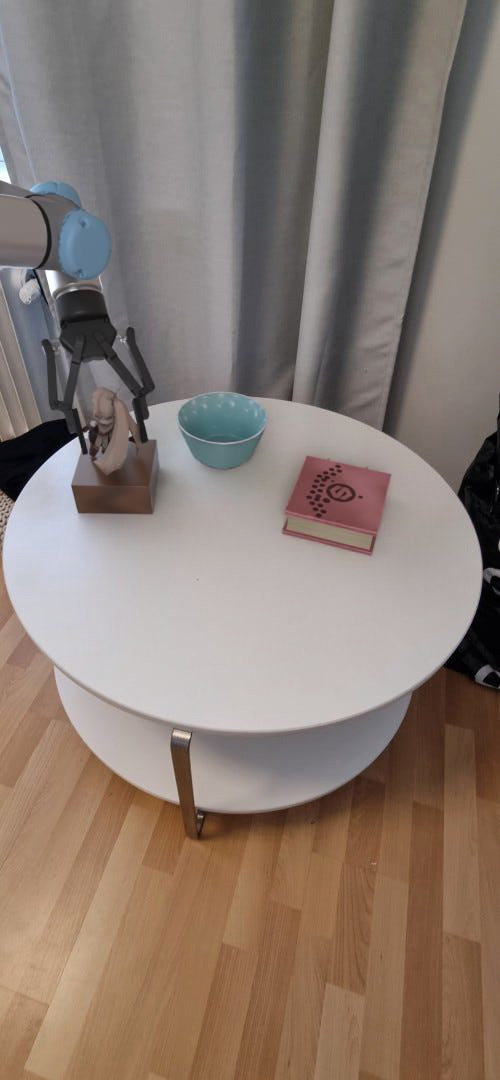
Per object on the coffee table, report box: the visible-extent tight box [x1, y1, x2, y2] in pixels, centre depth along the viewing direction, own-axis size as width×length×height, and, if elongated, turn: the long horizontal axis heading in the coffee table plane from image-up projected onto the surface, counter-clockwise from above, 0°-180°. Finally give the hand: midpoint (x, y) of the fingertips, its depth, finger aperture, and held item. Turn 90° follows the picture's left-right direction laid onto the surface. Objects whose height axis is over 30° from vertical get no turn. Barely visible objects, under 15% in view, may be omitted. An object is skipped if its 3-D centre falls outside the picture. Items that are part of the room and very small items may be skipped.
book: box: [281, 454, 392, 557], centre depth 95 cm, size 14×15×5 cm
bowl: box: [175, 391, 269, 470], centre depth 103 cm, size 16×16×8 cm
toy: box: [82, 386, 143, 476], centre depth 89 cm, size 9×8×15 cm
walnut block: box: [70, 437, 160, 515], centre depth 96 cm, size 12×12×6 cm
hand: (115, 447), depth 88 cm, fingers closed on toy, 8 cm apart
